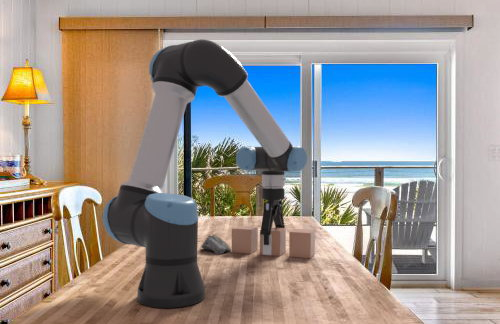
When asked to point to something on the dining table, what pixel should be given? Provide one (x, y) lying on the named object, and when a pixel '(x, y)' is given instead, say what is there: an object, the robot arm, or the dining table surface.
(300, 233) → the salmon pink box
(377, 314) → the dining table surface
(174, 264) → the robot arm
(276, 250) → the cover mid
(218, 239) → the fossilized seashell
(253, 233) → the peach colored cube
